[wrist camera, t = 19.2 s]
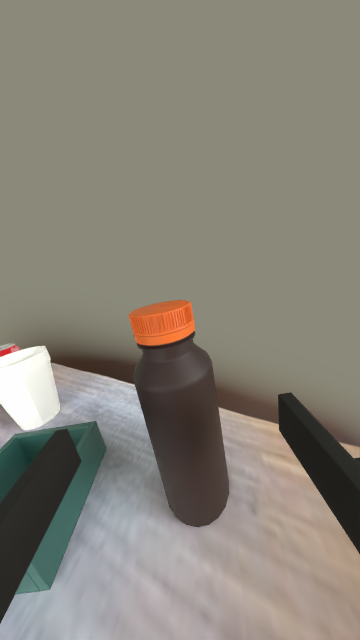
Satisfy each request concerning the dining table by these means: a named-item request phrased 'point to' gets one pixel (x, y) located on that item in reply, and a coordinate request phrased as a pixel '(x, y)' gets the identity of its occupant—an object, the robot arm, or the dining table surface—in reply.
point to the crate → (14, 459)
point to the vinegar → (181, 411)
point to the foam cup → (28, 387)
